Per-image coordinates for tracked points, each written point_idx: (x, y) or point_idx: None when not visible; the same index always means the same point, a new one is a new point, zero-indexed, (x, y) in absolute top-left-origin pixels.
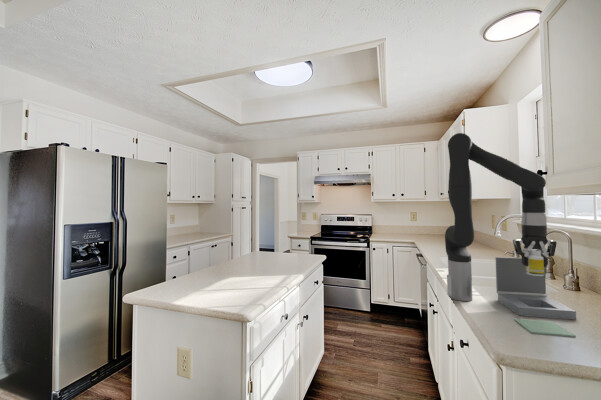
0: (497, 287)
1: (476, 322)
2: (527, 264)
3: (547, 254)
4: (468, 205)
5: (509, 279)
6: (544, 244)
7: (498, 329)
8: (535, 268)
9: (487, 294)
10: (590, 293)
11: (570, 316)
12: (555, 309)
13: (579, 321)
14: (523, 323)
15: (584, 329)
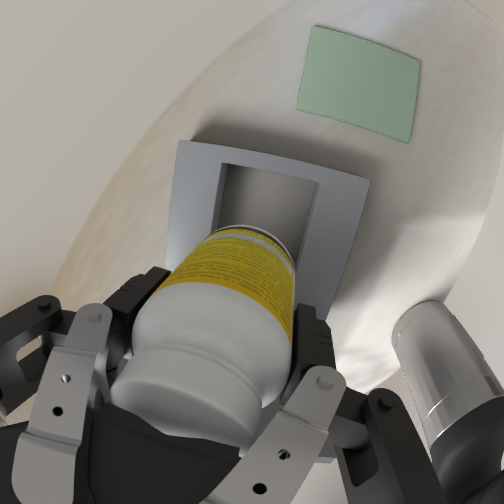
0: None
1: (500, 151)
2: (307, 309)
3: (77, 323)
4: None
5: None
6: (19, 432)
7: (478, 103)
8: (268, 254)
9: None
10: None
11: (202, 142)
12: (239, 153)
13: (193, 126)
14: (406, 107)
15: (234, 69)
